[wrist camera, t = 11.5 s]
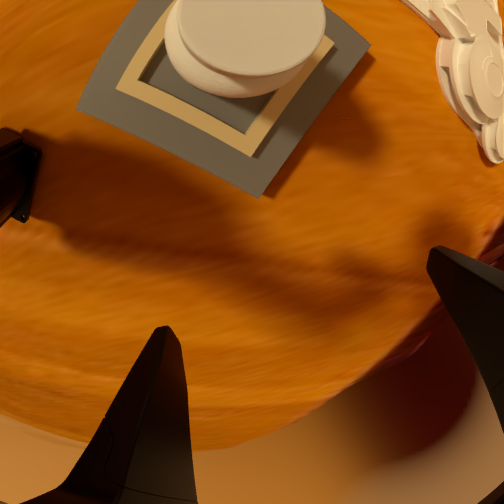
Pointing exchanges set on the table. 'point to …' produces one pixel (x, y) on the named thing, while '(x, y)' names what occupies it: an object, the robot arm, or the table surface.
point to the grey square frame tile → (213, 100)
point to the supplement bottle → (242, 43)
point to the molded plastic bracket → (470, 64)
